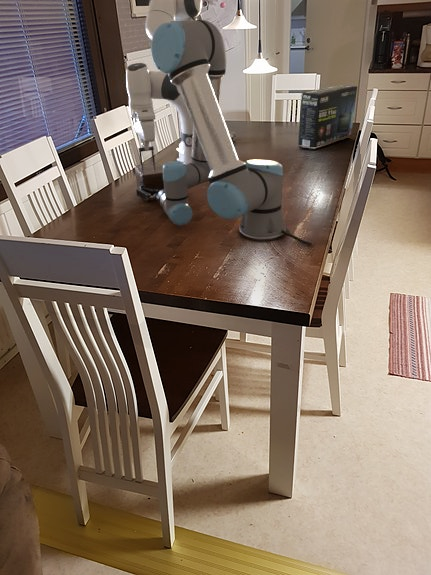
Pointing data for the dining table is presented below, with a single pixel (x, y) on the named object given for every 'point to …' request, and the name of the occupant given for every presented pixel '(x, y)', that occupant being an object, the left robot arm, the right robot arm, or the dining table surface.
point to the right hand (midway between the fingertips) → (154, 182)
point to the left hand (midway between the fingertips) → (145, 148)
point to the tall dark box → (148, 165)
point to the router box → (326, 115)
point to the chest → (150, 182)
